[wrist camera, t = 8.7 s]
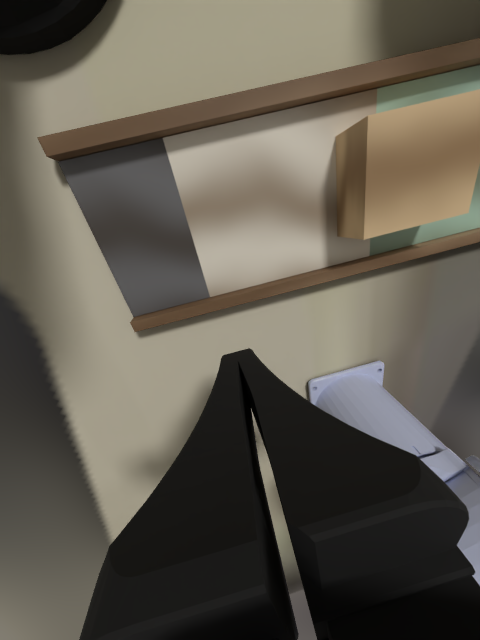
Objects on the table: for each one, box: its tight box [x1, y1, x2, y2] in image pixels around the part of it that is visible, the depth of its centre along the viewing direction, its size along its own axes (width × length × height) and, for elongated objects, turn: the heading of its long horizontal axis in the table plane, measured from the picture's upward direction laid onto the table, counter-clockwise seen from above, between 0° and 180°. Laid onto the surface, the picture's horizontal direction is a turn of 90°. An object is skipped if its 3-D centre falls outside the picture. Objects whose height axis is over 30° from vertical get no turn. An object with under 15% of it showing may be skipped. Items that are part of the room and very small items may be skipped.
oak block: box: [336, 89, 480, 240], centre depth 14 cm, size 6×7×3 cm
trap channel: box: [37, 38, 480, 332], centre depth 15 cm, size 12×34×1 cm, turn 102°
